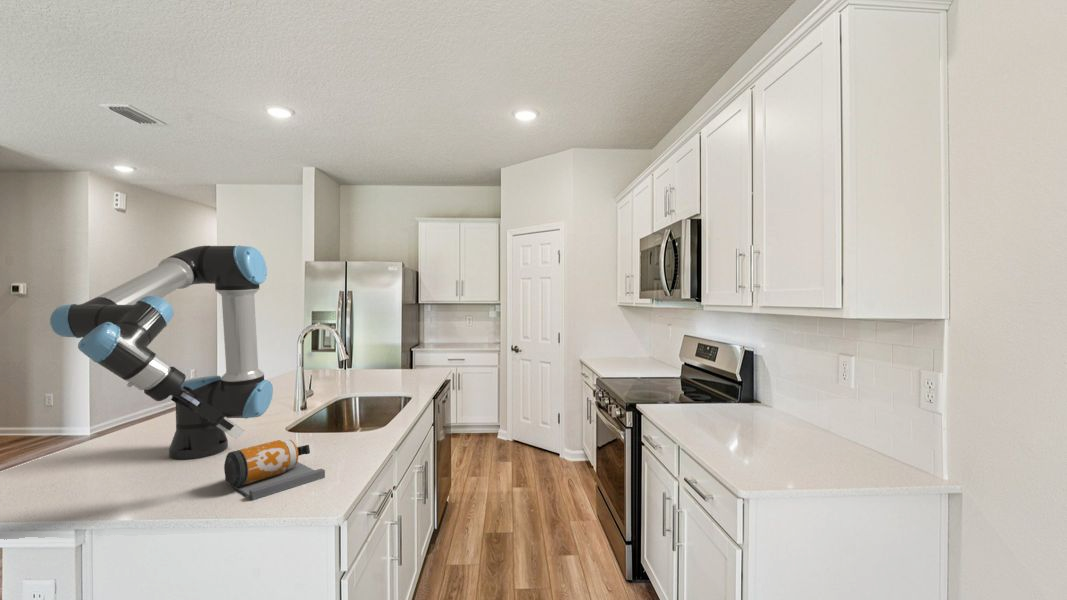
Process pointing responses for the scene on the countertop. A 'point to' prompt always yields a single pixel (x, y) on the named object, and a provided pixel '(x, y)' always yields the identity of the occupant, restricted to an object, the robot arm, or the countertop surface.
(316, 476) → the tray
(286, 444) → the canister
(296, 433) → the countertop surface
